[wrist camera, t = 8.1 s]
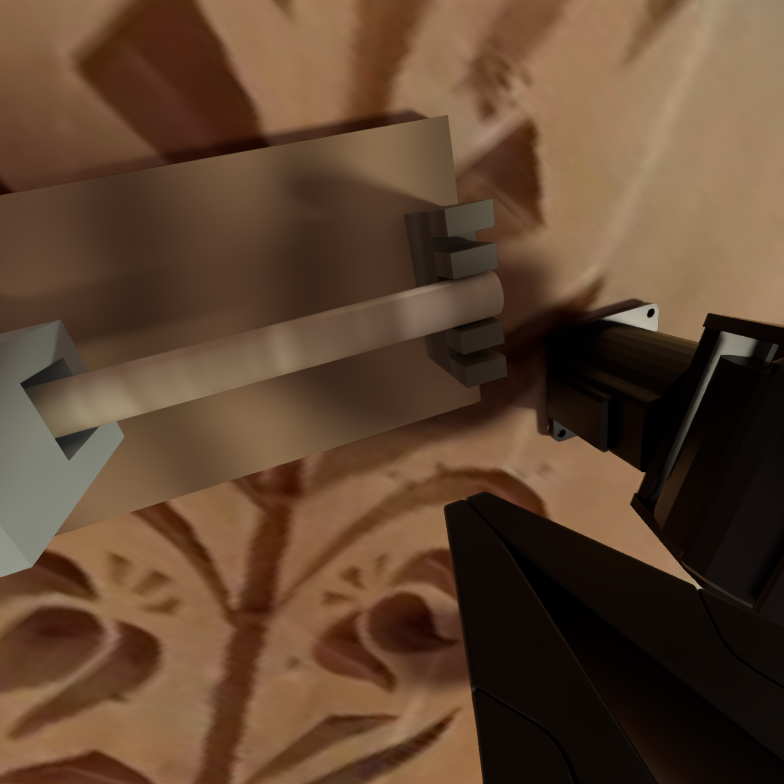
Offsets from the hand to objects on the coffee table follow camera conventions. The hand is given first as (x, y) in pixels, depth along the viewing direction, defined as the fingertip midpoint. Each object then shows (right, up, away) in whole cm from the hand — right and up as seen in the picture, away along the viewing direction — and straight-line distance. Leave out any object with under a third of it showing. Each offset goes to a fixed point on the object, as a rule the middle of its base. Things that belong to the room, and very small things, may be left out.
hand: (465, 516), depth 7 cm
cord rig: (-10, +4, +9) cm, 14 cm away
